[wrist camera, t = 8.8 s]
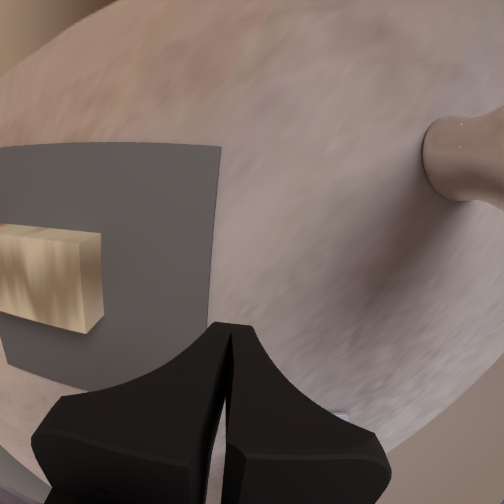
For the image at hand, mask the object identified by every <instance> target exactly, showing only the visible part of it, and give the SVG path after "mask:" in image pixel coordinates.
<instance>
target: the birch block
mask: <svg viewBox="0 0 504 504" xmlns="http://www.w3.org/2000/svg"><path fill="white" fill-rule="evenodd" d="M0 311H2V312H5V313H9V314H12V315H15V316H19V317H22V318H26V319H29V320H33V321H36V322H40V323H44V324H47V325H51V326H55V327H59V328H63V329H67V330H71V331H76V332H80V333H84V334H87V333H88V332H89V331H90V329H91V328H92V327H93V326H94V325H95V324H96V323H97V322H98V321H99V320H100V319H101V318H102V317H103V316H104V306H103V291H102V270H101V233H93V232H83V231H73V230H64V229H54V228H44V227H34V226H24V225H14V224H4V223H0Z"/></svg>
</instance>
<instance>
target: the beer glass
mask: <svg viewBox="0 0 504 504" xmlns="http://www.w3.org/2000/svg"><path fill="white" fill-rule="evenodd" d="M422 157H423V165H424V169H425V172H426V175H427V177H428V180H429V181H430V183H431V185H432V186H433V187H434V189H435V190H436V191H437V192H438V193H439V194H440V195H442V196H443V197H445V198H447V199H449V200H452V201H460V202H461V201H473V200H479V201H484V202H487V203H489V204H491V205H493V206H495V207H497V208H499V209H501V210H502V211H504V106H502V107H499V108H497V109H495V110H493V111H491V112H489V113H487V114H485V115H482V116H479V117H473V118H470V117H462V116H445V117H442V118H440V119H438V120H437V121H436V122H434V123H433V124H432V125H431V127H430V128H429V130H428V131H427V133H426V136H425V139H424V142H423V150H422Z"/></svg>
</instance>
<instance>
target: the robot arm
mask: <svg viewBox="0 0 504 504" xmlns="http://www.w3.org/2000/svg"><path fill="white" fill-rule="evenodd" d="M225 397H226V454H225V465H224V475H223V486H222V497H221V504H375V503H376V501H377V500H378V499H379V498H380V496H381V495H382V493H383V492H384V491H385V489H386V488H387V486H388V484H389V482H390V480H391V473H392V472H391V467H390V465H389V462H388V459H387V457H386V454H385V452H384V450H383V448H382V446H381V444H380V442H379V440H378V439H377V437H376V435H375V433H373V432H370V431H368V430H366V429H363V428H361V427H358V426H356V425H354V424H351V423H349V422H348V419H349V416H348V414H347V413H330V412H329V411H327V410H325V409H324V408H322V407H321V406H319V405H317V404H316V403H315V402H313V401H312V400H311V399H309V398H308V397H307V396H305V395H304V394H303V393H302V392H300V391H299V390H298V389H297V388H296V387H295V386H294V385H293V384H292V383H290V382H289V381H288V380H287V379H286V378H285V376H284V375H283V374H282V373H281V372H280V371H279V369H278V368H277V367H276V366H275V364H274V363H273V362H272V360H271V359H270V357H269V356H268V354H267V353H266V351H265V350H264V348H263V346H262V345H261V343H260V341H259V339H258V337H257V335H256V333H255V330H254V328H253V327H252V326H250V325H240V324H230V323H222V322H214V323H212V324H211V325H210V326H209V327H208V328H207V329H206V331H205V332H204V333H203V334H202V335H201V336H200V337H199V338H197V339H196V340H195V341H194V342H193V343H192V344H191V345H190V346H189V347H187V348H186V349H185V350H184V351H182V352H181V353H180V354H178V355H177V356H176V357H175V358H173V359H172V360H170V361H169V362H167V363H166V364H164V365H162V366H161V367H159V368H157V369H155V370H153V371H152V372H149V373H147V374H145V375H143V376H140V377H138V378H136V379H133V380H131V381H128V382H126V383H123V384H120V385H116V386H113V387H109V388H106V389H102V390H98V391H93V392H87V393H81V394H75V395H68V396H62V397H61V398H60V399H59V400H58V401H57V402H56V403H55V405H54V406H53V407H52V408H51V410H50V411H49V412H48V414H47V415H46V417H45V418H44V420H43V421H42V422H41V424H40V425H39V427H38V428H37V430H36V431H35V432H34V434H33V435H32V437H31V447H32V449H33V452H34V455H35V458H36V460H37V461H38V463H39V465H40V467H41V469H42V471H43V472H44V474H45V476H46V478H47V479H48V481H49V483H50V484H51V486H52V489H51V491H50V493H49V495H48V497H47V499H46V501H45V503H44V504H205V502H206V494H207V486H208V478H209V470H210V462H211V455H212V450H213V445H214V441H215V437H216V433H217V429H218V425H219V421H220V417H221V413H222V409H223V405H224V401H225ZM0 504H42V503H40V502H37V501H35V500H33V499H31V498H29V497H27V496H25V495H24V494H22V493H20V492H18V491H16V490H14V489H12V488H10V487H9V486H7V485H5V484H4V483H2V482H0ZM501 504H504V500H503V502H502V503H501Z"/></svg>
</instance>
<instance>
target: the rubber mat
mask: <svg viewBox="0 0 504 504" xmlns="http://www.w3.org/2000/svg"><path fill="white" fill-rule="evenodd" d="M220 156H221V147H218V146H205V145H189V144H169V143H136V142H90V143H59V144H40V145H26V146H14V147H3V148H0V223H4V224H14V225H24V226H34V227H44V228H54V229H64V230H73V231H83V232H93V233H101V270H102V291H103V306H104V316H103V317H102V318H101V319H100V320H99V321H98V322H97V323H96V324H95V325H94V326H93V327H92V328H91V329H90V331H89V332H88V333H87V334H84V333H80V332H76V331H71V330H67V329H63V328H59V327H55V326H51V325H47V324H44V323H40V322H36V321H33V320H29V319H26V318H22V317H19V316H15V315H12V314H9V313H5V312H2V311H0V336H1V340H2V344H3V348H4V351H5V355H6V358H7V362H8V364H10V365H13V366H15V367H18V368H20V369H23V370H26V371H28V372H31V373H34V374H37V375H39V376H42V377H45V378H48V379H51V380H54V381H57V382H60V383H64V384H67V385H70V386H73V387H77V388H80V389H84V390H87V391H91V392H93V391H98V390H102V389H106V388H109V387H113V386H116V385H120V384H123V383H126V382H128V381H131V380H133V379H136V378H138V377H140V376H143V375H145V374H147V373H149V372H152V371H153V370H155V369H157V368H159V367H161V366H162V365H164V364H166V363H167V362H169V361H170V360H172V359H173V358H175V357H176V356H177V355H178V354H180V353H181V352H182V351H184V350H185V349H186V348H187V347H189V346H190V345H191V344H192V343H193V342H194V341H195V340H196V339H197V338H199V337H200V336H201V335H202V334H203V333H204V332H205V331H206V329H207V315H208V299H209V284H210V269H211V256H212V243H213V231H214V219H215V207H216V196H217V186H218V175H219V165H220Z"/></svg>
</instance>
